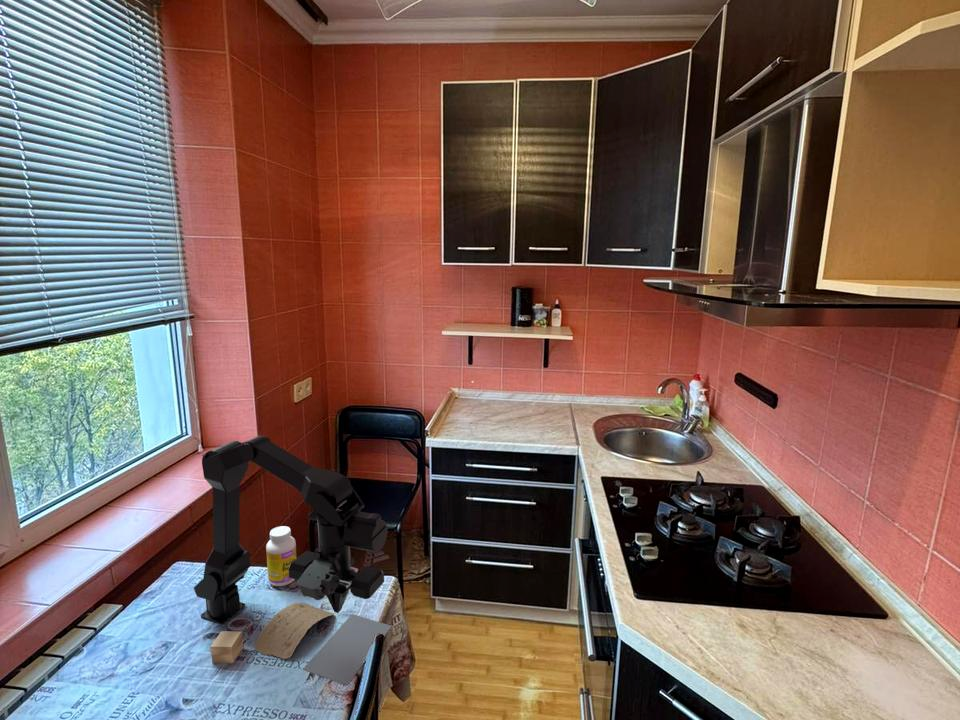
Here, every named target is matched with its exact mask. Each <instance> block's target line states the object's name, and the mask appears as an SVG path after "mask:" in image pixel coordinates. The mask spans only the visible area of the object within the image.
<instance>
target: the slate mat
mask: <svg viewBox="0 0 960 720" xmlns="http://www.w3.org/2000/svg"><path fill="white" fill-rule="evenodd" d="M391 628H393V626H392V625H390V624H387V623H383V622H380V621H377V620H374V619H370V618H367V617H364V616H360V615H357V614H354V613H352V614H350V616H349V617H348V618H347V619H346V620H345V621H344V622H343V624H341V625H340V627H339V628H338V629H337V630H336V631H335V632H334V633H333V635H332V636H331V637H330V638H329V639H328V640H327V641H326V642H325V643H324V644H323V646H322V647H321V648H320V649H319V650H318V651H317V652H316V654H314V656H313V657H312V658H311V659H310V660H309V661H308V662H307V663H306V665H304V667H303V668H302V670H303V671H306V672H307V673H308V672H309V673H311V674H314V675H316V676H319V677H321V678H324V679H327V680H329V681H330V680H331V681H333V682H336V683H338V684H341V685H344V686H348V685H349V683H351V681H352V680H353V679H354V678H355V676H356V675H357V673H358V672H359V671H360V670H361V668H362V667H363V666H362V665H364V664H363V661H364V658H365V656H366V654H367V653H368V651H369V649H370V647H371V645H372V642H373V639H374V635H376V634H378V633H380V634H383V635H384V638H385V636H387V634H388V633H389V632H390V630H391Z"/></svg>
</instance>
